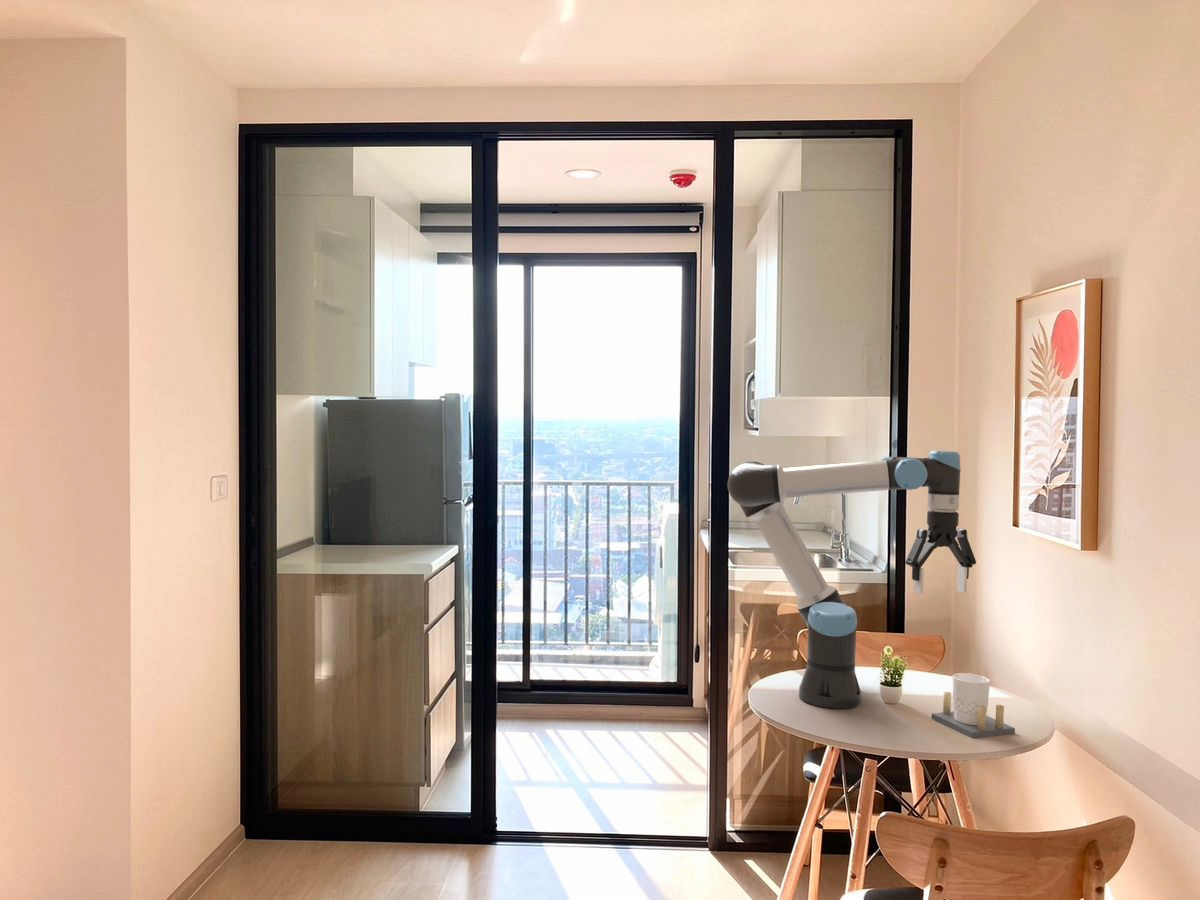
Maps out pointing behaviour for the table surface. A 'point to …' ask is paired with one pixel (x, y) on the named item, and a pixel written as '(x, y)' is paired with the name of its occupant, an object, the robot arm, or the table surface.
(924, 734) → the table surface
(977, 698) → the white cup
